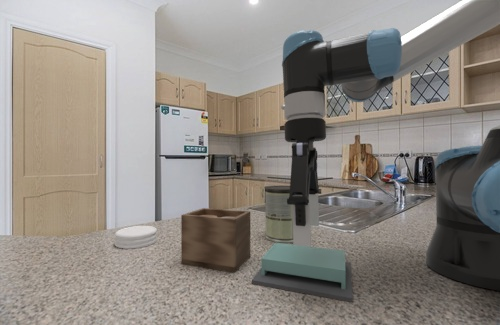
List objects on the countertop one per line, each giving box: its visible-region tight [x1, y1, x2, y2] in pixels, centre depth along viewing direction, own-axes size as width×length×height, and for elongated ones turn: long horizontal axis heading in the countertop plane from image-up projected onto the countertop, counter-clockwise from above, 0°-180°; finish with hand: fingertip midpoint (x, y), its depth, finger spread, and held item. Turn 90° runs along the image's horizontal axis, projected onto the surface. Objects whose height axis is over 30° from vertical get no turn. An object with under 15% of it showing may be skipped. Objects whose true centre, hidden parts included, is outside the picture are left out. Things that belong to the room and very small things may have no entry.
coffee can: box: [264, 185, 293, 244], centre depth 68 cm, size 10×10×14 cm
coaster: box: [114, 225, 158, 250], centre depth 64 cm, size 10×10×4 cm
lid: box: [260, 242, 346, 290], centre depth 45 cm, size 14×10×3 cm
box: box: [180, 207, 251, 273], centre depth 52 cm, size 12×8×10 cm
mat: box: [251, 261, 354, 303], centre depth 45 cm, size 16×14×1 cm
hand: (308, 234), depth 45 cm, fingers open, 13 cm apart
